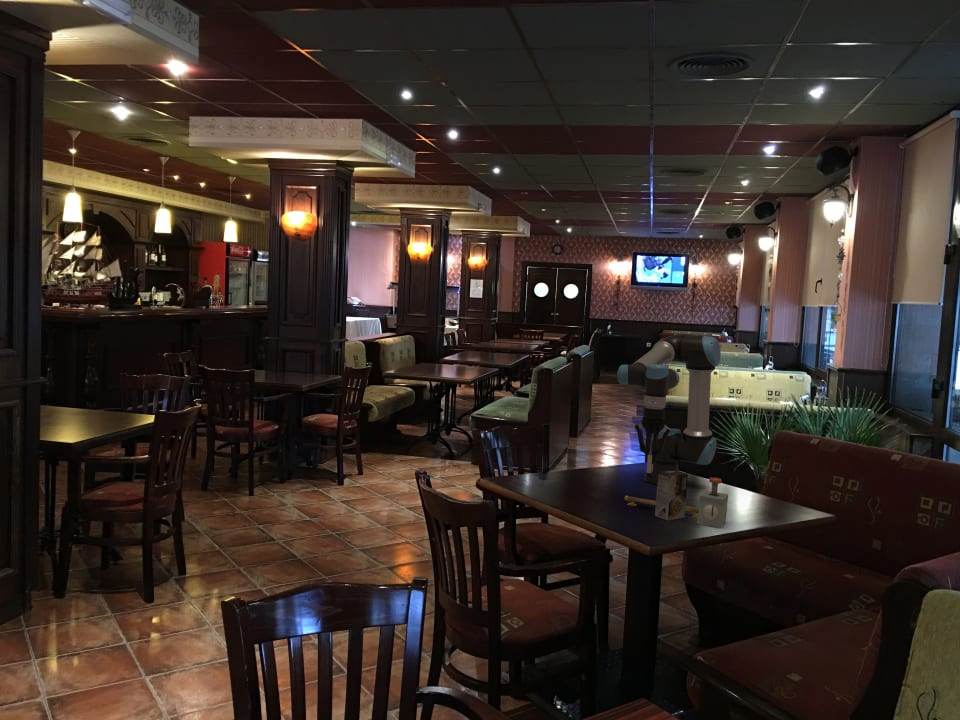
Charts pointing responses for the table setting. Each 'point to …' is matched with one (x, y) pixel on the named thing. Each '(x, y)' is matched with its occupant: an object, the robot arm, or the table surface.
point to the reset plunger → (714, 484)
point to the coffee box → (671, 495)
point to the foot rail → (651, 502)
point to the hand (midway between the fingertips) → (649, 472)
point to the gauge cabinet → (712, 509)
